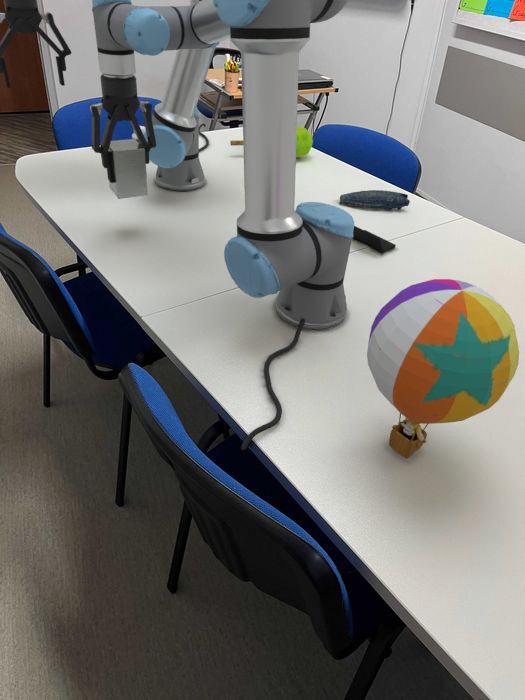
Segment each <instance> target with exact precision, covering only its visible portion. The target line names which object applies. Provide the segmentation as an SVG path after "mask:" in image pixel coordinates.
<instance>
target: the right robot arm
mask: <svg viewBox="0 0 525 700" xmlns="http://www.w3.org/2000/svg"><path fill="white" fill-rule="evenodd" d="M91 2H92V7H91V11H92V16H93V24H94V32H95V33H94V34H95V40H96V48H97V58H98V67H99V72H100V73H101V74H100V86H101V100H100V102H98V103H95V104H93V103H89V105H88V108H89V112H90V114H91V149H92V150H93V152H94V153H96V154H100V159H101V164H102V167H103V168H104V169H106V174H107V180H108V182H109V181H110V182H111V183H114V175H113V166H112V156H111V154H110V153H109V152H108V151H109V147H110V143H111V141H112V139H113V135H114V131H115V127H116V126H117V123H118V122H122V121H127V122H129V123H130V125H131V127H132V129H134V130H133V133H134V132H135V134H136V136H137V138H138V140H139V142H140V145H141V146H142V147H143V148H144V149H145V163H146V165H149V164H150V160H149V152H150V149H151V148H155V147H156V140H155V134H154V129H153V123H152V109H153V105H152V103H151V102H149V101H147V100H144V101H142V100H140V99H139V97H138V86H137V85H138V84H137V77H136V75H135V74H136V73H137V70H136V69H137V68H136V58H135V57H136V56H135V52H136V53H137V54H140V55H143V56H153V57H154V56H158V55H160V54H162V53H163V52H167V51H177V50H178V49H207V48H211V47H215V46H216V47H217V46H219V45H220V42H222V41H226V40H229V39H230V41H231V43H232V44H233V45H234V46H235V47H236V48H237V50H239V51H238V52H239V53H240V60H241V61H240V62H241V63H240V65H241V99H242V101H241V102H242V105H241V106H242V140H243V145H242V146H243V147H242V148H243V184H244V211H243V212H242V213H241V214H240V215H239V216H238V217H237V219H236V236H234V237H231V238H230V239H229V240H228V241H227V243H226V244H225V246H224V250H223V254H224V255H223V256H224V263H225V266H226V269H227V272H228V274H229V276H230V278H231V280H233V282H234V284H235V285H236V286H237V287H238V289H239V290H241V292H242V293H244V294H246V295H247V296H249V297H251V298H254V299H255V298H257V299H259V298H260V299H261V298H265V297H267V296H270V295H276V294H277V296H276V300H275V311H276V313H277V315H278V316H279V317H280V318H281V319H282V320H283V321H284V322H286V323H287V324H289V325H291V326H293V327H296V330H295V334H294V336H293V340H292V341H291V343H289V344H288V345H287V346H285V347H283V348H282V349H279V350H277V351H274V352H273V353H271V354H270V355H269V356H268V357H267V358H266V360H265V363H264V366H263V376H264V381H265V385H266V387H265V388H266V390H267V393H268V395H269V397H270V399H271V401H272V402H273V404H274V407H275V410H276V412H275V416H274V417H273V419H272V420H271V421H269V422H266V423H265V424H263V425H260V426H258V427H256V428H254V429H253V430H252V431H251V432H249V434H248V435H246V437H245V438H244V439H243V442H242V443H241V445H240V449H241V450H243V451H244V450H245V451H246V450H247V448H248V446H249V445H250V443H251V442H252V440H253V439H254V438H255V437H256V436H258V435H259V434H261V433H263V432H265V431H267V430H270V429H272V428H274V427H275V426H276V425H278V423H279V422H281V421H280V420H281V419H282V414H283V408H282V407H283V406H282V405H281V402H280V400H279V398H278V396H277V395H276V394H275V391H274V389H273V385H272V380H271V376H270V366H271V363H272V362H273V360H274V359H276V357H279V356H282V355H283V354H286V353H288V352H289V351H291V350H292V349H293V348H295V346H296V345H297V344H298V341H299V339H300V335H301V332H302V330H303V329H304V330H310V331H324V330H325V331H326V330H329V329H333V328H336V327H337V326H339V325H340V324H342V323H343V322H344V320H345V318H346V315H347V310H348V309H347V308H348V307H347V306H348V305H347V297H346V292H345V286H344V280H345V275H346V271H347V267H348V261H349V257H350V251H351V246H352V241H353V239H352V238H353V230H354V226H355V220H354V218H353V215H351V214H350V213H349V212H348V211H346V210H345V209H343V208H340V207H338V206H335V205H333V204H329V203H324V202H318V201H305V202H301V203H299V204H298V205H297V206H296V208H295V197H296V168H297V167H296V165H297V163H296V162H297V157H296V134H297V127H298V100H299V99H298V97H299V94H298V93H299V63H300V61H299V59H300V52H301V51H302V49H304V47H305V46H306V45H307V43H309V41H310V39H311V37H310V36H311V24H317V23H322V22H326V21H329V20H330V19H332V18H334V17H335V16H336V15H338V14H339V13H340V12H341V11H342V10H343V9H344V7H345V6H346V5H347V4H348V2H349V0H202V1H200V2H198V3H195V4H192V5H190V4H189V5H179V6H177V5H176V6H173V5H169V6H165V5H159V6H158V5H157V6H156V5H155V6H154V5H153V6H147V5H146V6H144V5H143V6H142V5H134V4H133V3H132V0H91ZM139 108H140V111H141V112H142V118H143V122H144V127H145V130H146V134H147V139H148V142H146V139H145V137H144V135H143V133H142V131H141V128H140V126H141V125H140V124H139V121H138V119H137V116H136V113H137V111H138V110H139ZM103 110H105V112H106V114H107V116H106V123H105V127H104V131H103V135H102V139H101V117H100V116H101V115H102V111H103ZM147 175H148V174H147V173H146V178H148V176H147Z"/></svg>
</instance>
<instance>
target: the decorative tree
mask: <svg viewBox="0 0 525 700" xmlns="http://www.w3.org/2000/svg"><path fill="white" fill-rule="evenodd" d="M313 143H314V138H313V135H312V133H311V132H309V130H308V129H307V128H306V127H304V126H297V134H296V159H297V158H300V159H301V158H303V157H305V156H307V155H309V153H310V151H311V149H312V147H313ZM229 145H230V146H232V147H233V146H243V139H242V140H241V139H240V140H230V144H229Z"/></svg>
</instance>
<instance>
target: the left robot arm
mask: <svg viewBox="0 0 525 700" xmlns="http://www.w3.org/2000/svg"><path fill="white" fill-rule="evenodd" d="M200 1H202V0H189V3H190V4H189V6H190V5H192V4H195V3H198V2H200ZM3 4H4V12H0V24H2V23H3V22H4V19H5V20H6V22H8V24H9V26H8V28H7V29H6V32H5V34H4V35H3V37H2V38H1V41H0V74H3V75H2V76H3V78H4V83H5V86H6V88H7V89H8V88H9V89H11V83H10V78H9V73H8V69H7V65H6V59H5V58H4V56H3V55H4V53H5V51H6V50H7V48H8V46H9V45H10V43H11V42H12V39H13V37H14V36H15V35H16V34H17V33H18V34H20V35H25V34H29V35H34V34H36V33H37V34H38V35H39V36H40V37H41V38H42V39H43V40H44V42H46V44H48V45H49V47H50V48H51V49H52V50H54V52H55V53H56V54H57V55H56V56H55V61H56V62H55V63H56V67H57V75H58V81H59V84H60V85H61V86H62V87H64V86H65V78H64V72H67V64H66V57H68V56H71V55H72V50H71V49H70V47H69V45H68V44H67V41H66V40H65V38H64V37H63V35H62V34H61V32H60V30H59V28H58V27H57V25H56V23H55V20H54V15H53V14H52V13H51V12H50V11H46V12H45V13H41V12H40V11H39V6H38V0H3ZM42 20H43V21H44V22H45V23H46V24H47V25H48V26H49V27H50V29H51V31H52V32H53V35H54V36H55V38H56V39H57V41H58V43H59V45H60V46H61V48H62V50H61V49H60V48H59V46H58V45H57V44H56V42H54V40H52V39H51V38H50V37H49V36H48V35H47V33H46V32H45V31H44V30H43V29H42V28H41V27H40V25H41V24H42ZM216 47H217V46H215V47H211V48H207V49H178V50H176V53H175V56H174V60H173V64H172V66H171V71H170V73H169V77H168V81H167V84H166V88H165V91H164V95H163V99H162V101H161V102H159V103H157V104H155V106H154V107H153V112H152V114H151V118H152V123H153V129H154V134H155V140H156V147H155V148H151V149H150V152H149V162H151V163H152V164H154V165H155V166H157V168H156V171H155V183H156V185H158V187H161V188H162V189H166V190H169V191H176V192H177V191H178V192H185V191H186V192H188V191H193V190H198V189H200V188H201V187H203V186H204V185H205V179H206V178H205V177H206V176H205V173H204V171H203V167H202V163H201V161H200V152H201V151H203V150H205V149H206V148H207V147H208V146H209V143H210V142H209V138H208V136H206V135H205V134H204V133H203V132H201V131H200V130H201V128H202V127H204V128H205V127H207V125H206V123H201V124H199V123H200V115H199V108H198V104H199V103H198V102H199V100H200V96H201V93H202V90H203V88H204V85H205V81H206V78H207V76H208V72H209V70H210V65H211V63H212V60H213V57H214V54H215V51H216ZM200 135H201V136H202V137H203V138H204V139H205V141H206V142H205V144H204V146H202V147H200V145H199V144H200V141H199V140H200V139H199V138H200ZM144 137H145V139H146V142H148V139H147V134H146V131H145V133H144Z"/></svg>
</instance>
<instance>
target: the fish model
mask: <svg viewBox="0 0 525 700" xmlns="http://www.w3.org/2000/svg"><path fill="white" fill-rule="evenodd" d="M410 202H411V201H410V200H409V195H408V194H406V193H403V192H402V193H401V192H399V191H392V190H382V189H380V190H379V189H377V190H376V189H368V190H360V191H352V192H348V193H344V194H341V195H340V196H339V203H343V204H346V205H349V206H351V207H357V208H362V209H371V210H372V209H374V210H384V211H385V210H386V211H391V210H394V209H397V210H402V208H404V207H408V206H409V205H410Z"/></svg>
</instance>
